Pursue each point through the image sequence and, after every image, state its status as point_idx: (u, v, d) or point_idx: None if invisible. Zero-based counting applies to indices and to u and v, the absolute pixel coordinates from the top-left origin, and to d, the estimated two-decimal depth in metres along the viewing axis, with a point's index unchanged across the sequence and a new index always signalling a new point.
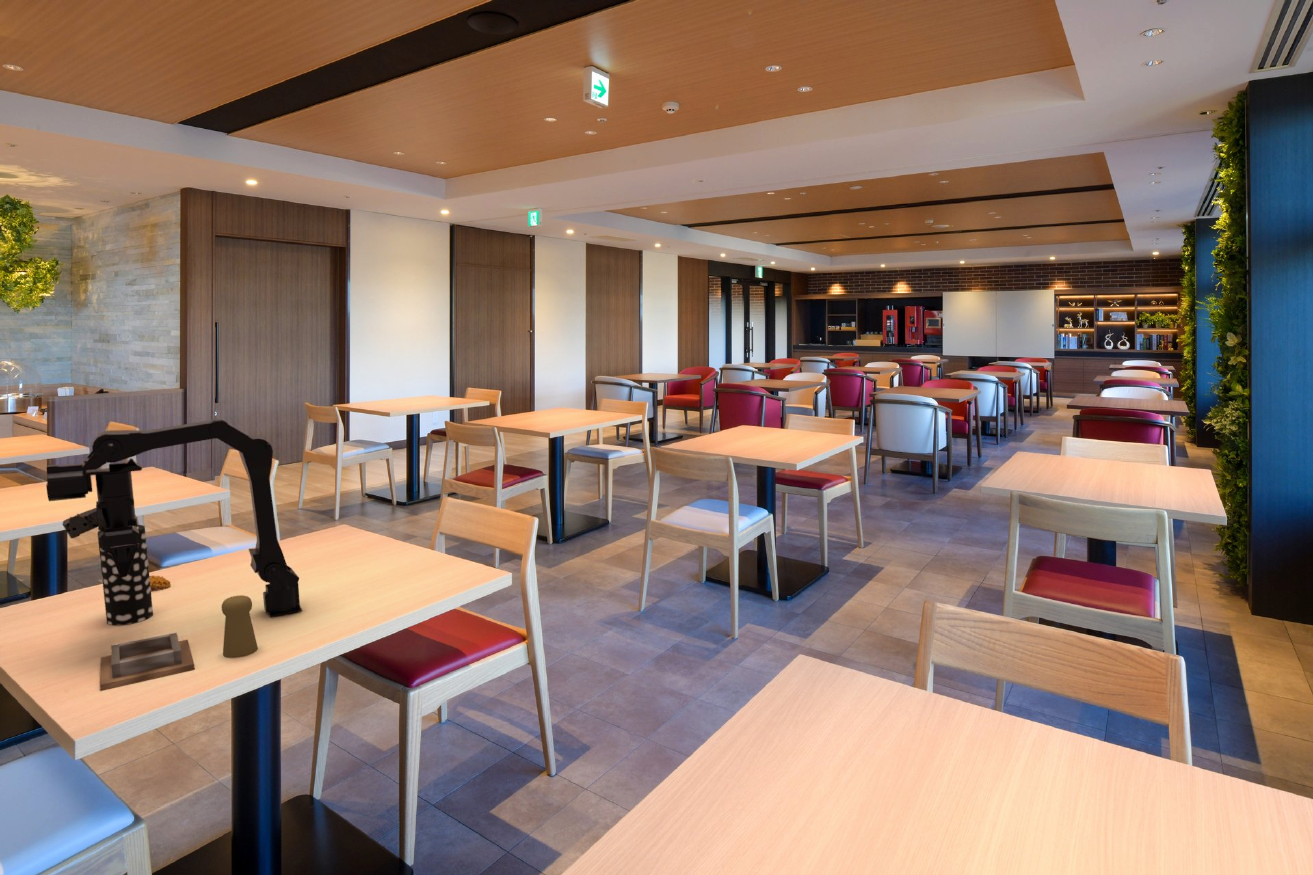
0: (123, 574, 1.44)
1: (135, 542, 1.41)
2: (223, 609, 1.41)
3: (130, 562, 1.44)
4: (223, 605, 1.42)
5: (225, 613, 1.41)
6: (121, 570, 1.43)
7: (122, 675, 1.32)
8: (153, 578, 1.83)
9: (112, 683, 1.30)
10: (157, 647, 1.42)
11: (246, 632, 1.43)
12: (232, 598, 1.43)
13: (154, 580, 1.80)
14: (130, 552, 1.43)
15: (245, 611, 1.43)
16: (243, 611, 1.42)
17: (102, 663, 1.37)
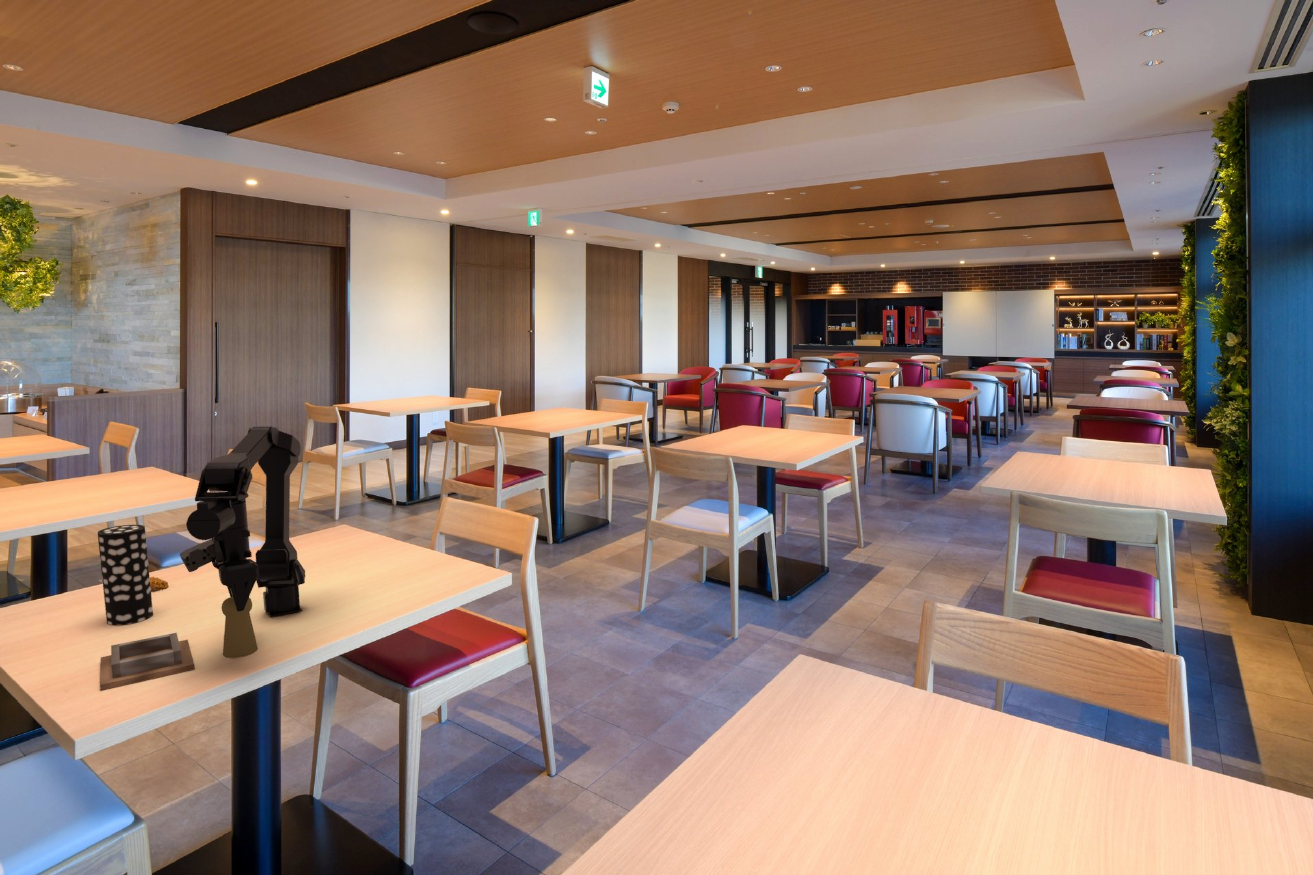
0: (240, 608, 1.40)
1: (255, 576, 1.37)
2: (223, 609, 1.41)
3: (248, 596, 1.40)
4: (223, 605, 1.42)
5: (225, 613, 1.41)
6: (239, 604, 1.39)
7: (122, 675, 1.32)
8: None
9: (112, 683, 1.30)
10: (157, 647, 1.42)
11: (246, 632, 1.43)
12: (232, 598, 1.43)
13: (152, 581, 1.80)
14: (248, 586, 1.39)
15: (245, 611, 1.43)
16: (243, 611, 1.42)
17: (102, 663, 1.37)
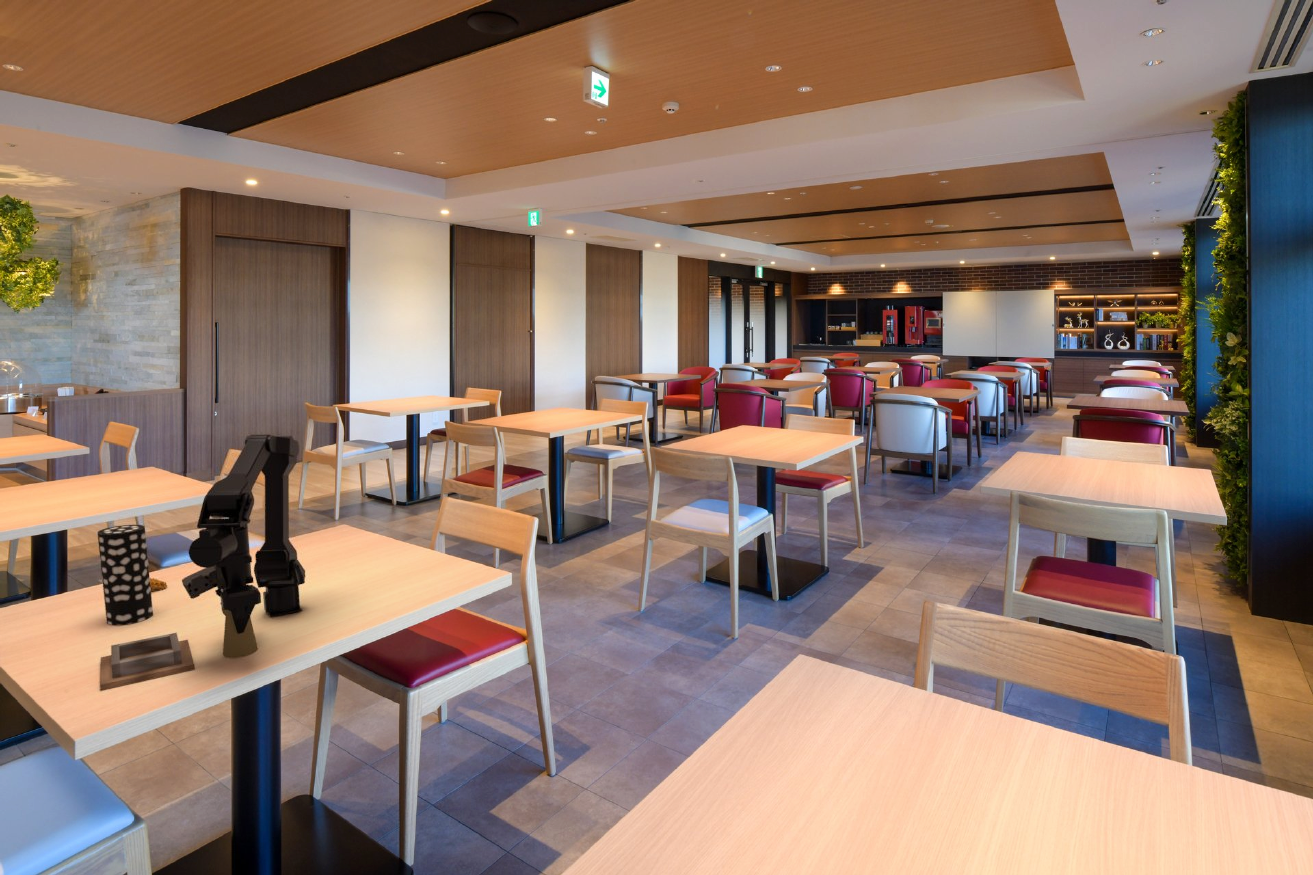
0: (240, 630, 1.42)
1: (257, 602, 1.37)
2: None
3: (247, 618, 1.42)
4: None
5: (225, 613, 1.41)
6: (239, 627, 1.42)
7: (122, 675, 1.32)
8: None
9: (112, 683, 1.30)
10: (157, 647, 1.42)
11: (246, 632, 1.43)
12: None
13: (150, 581, 1.79)
14: (248, 608, 1.41)
15: None
16: None
17: (102, 663, 1.37)
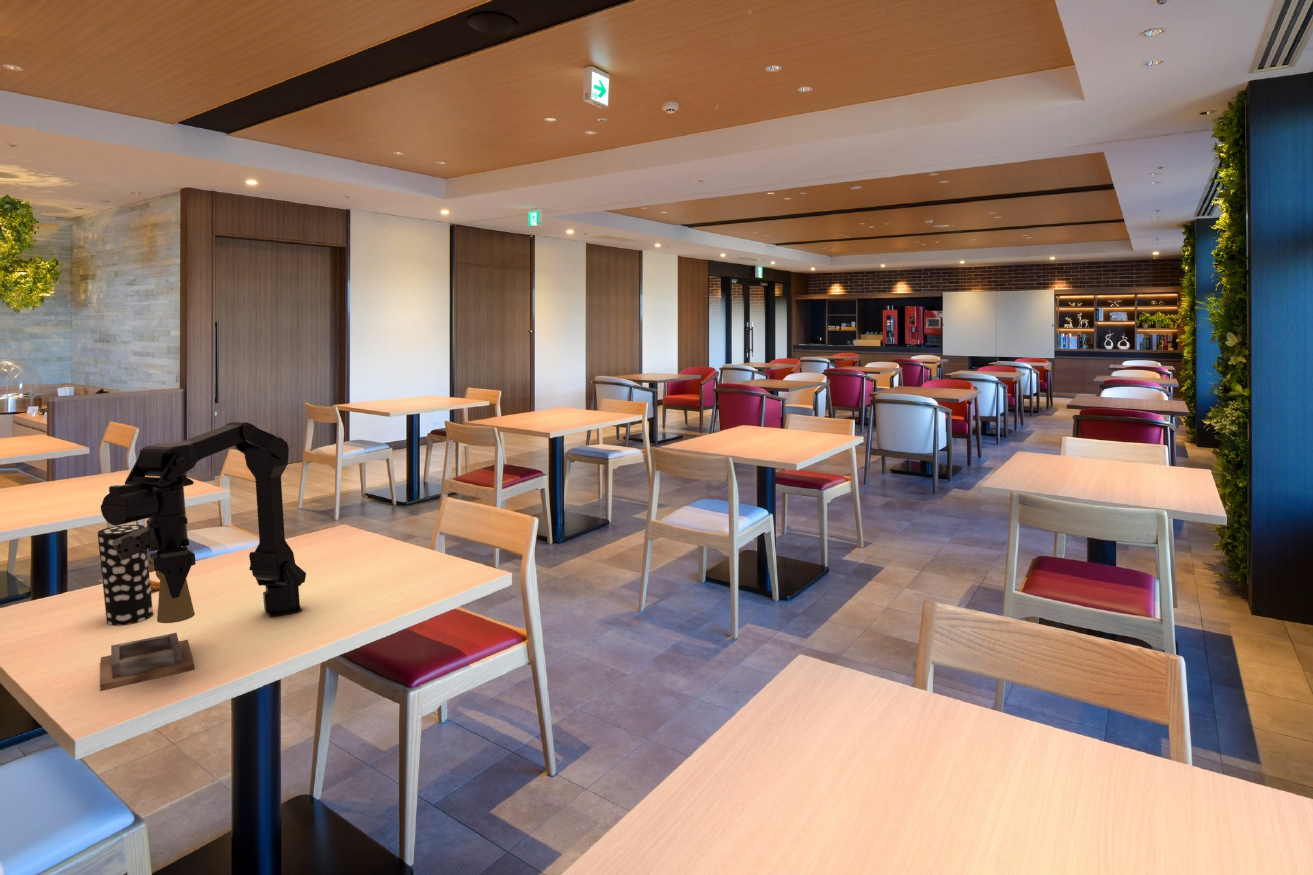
0: (175, 595, 1.37)
1: (191, 564, 1.32)
2: (157, 572, 1.36)
3: (183, 582, 1.36)
4: None
5: (159, 576, 1.36)
6: (173, 591, 1.36)
7: (122, 675, 1.32)
8: None
9: (112, 683, 1.30)
10: (157, 647, 1.42)
11: (182, 596, 1.38)
12: None
13: None
14: (183, 571, 1.36)
15: None
16: None
17: (102, 663, 1.37)
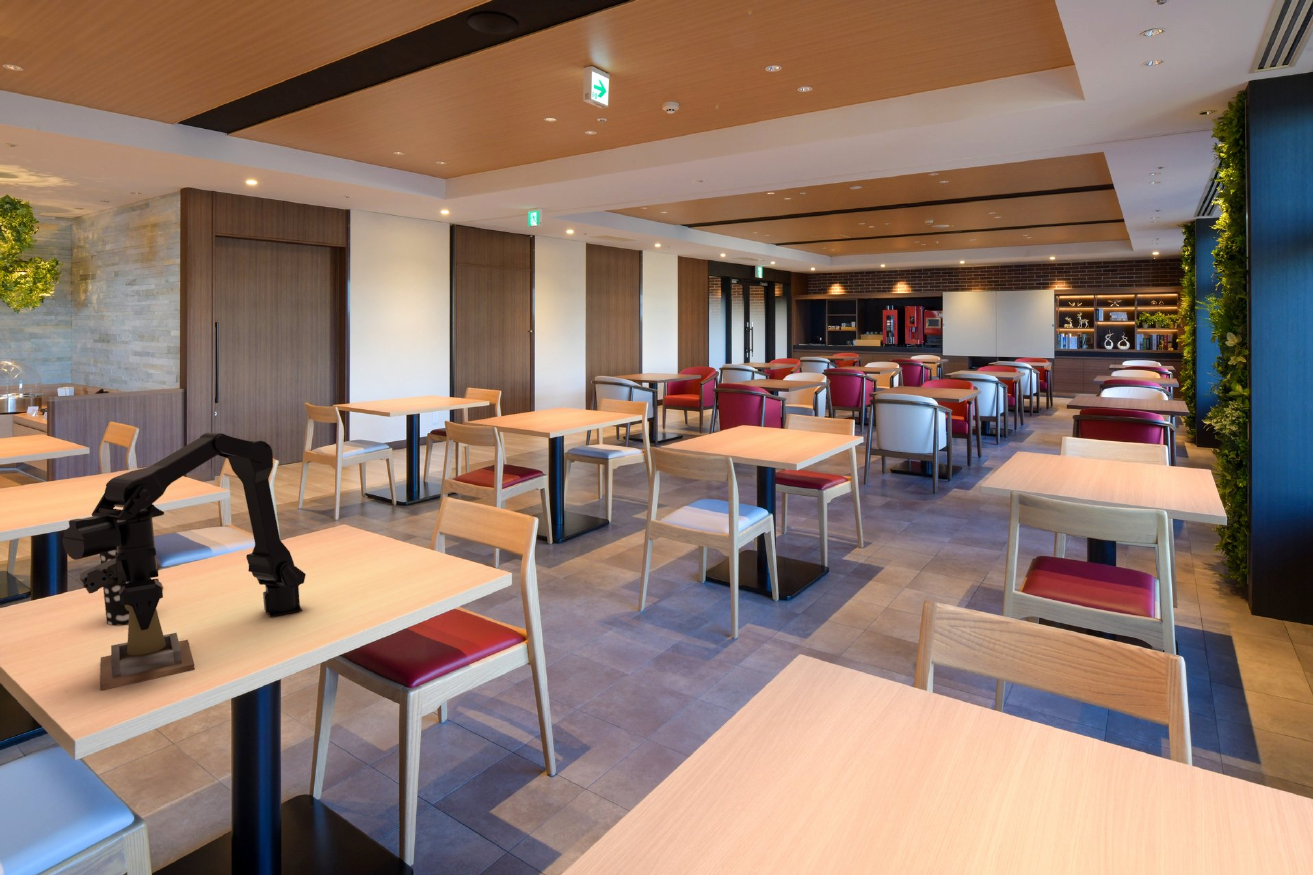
0: (144, 627, 1.35)
1: (158, 597, 1.30)
2: None
3: (152, 614, 1.35)
4: None
5: (128, 608, 1.35)
6: (142, 623, 1.35)
7: (122, 675, 1.32)
8: None
9: (112, 683, 1.30)
10: None
11: (151, 628, 1.36)
12: None
13: None
14: (152, 603, 1.34)
15: None
16: None
17: (102, 663, 1.37)
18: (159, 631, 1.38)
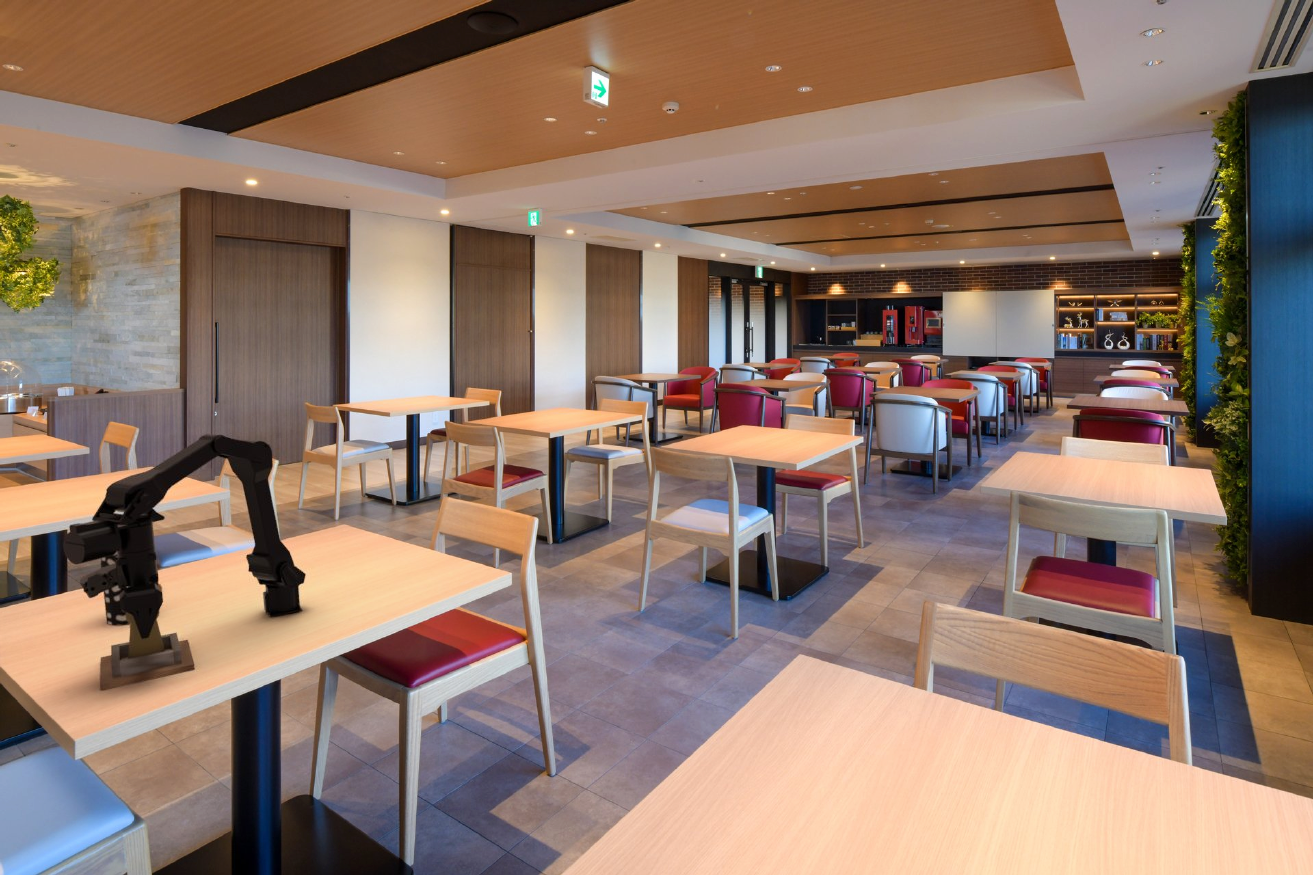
0: (145, 635, 1.34)
1: (158, 602, 1.30)
2: (127, 616, 1.35)
3: (152, 622, 1.33)
4: None
5: (129, 621, 1.35)
6: (143, 631, 1.33)
7: (122, 675, 1.32)
8: None
9: (112, 683, 1.30)
10: None
11: (153, 640, 1.37)
12: None
13: None
14: (152, 612, 1.33)
15: None
16: None
17: (102, 663, 1.37)
18: (160, 643, 1.38)
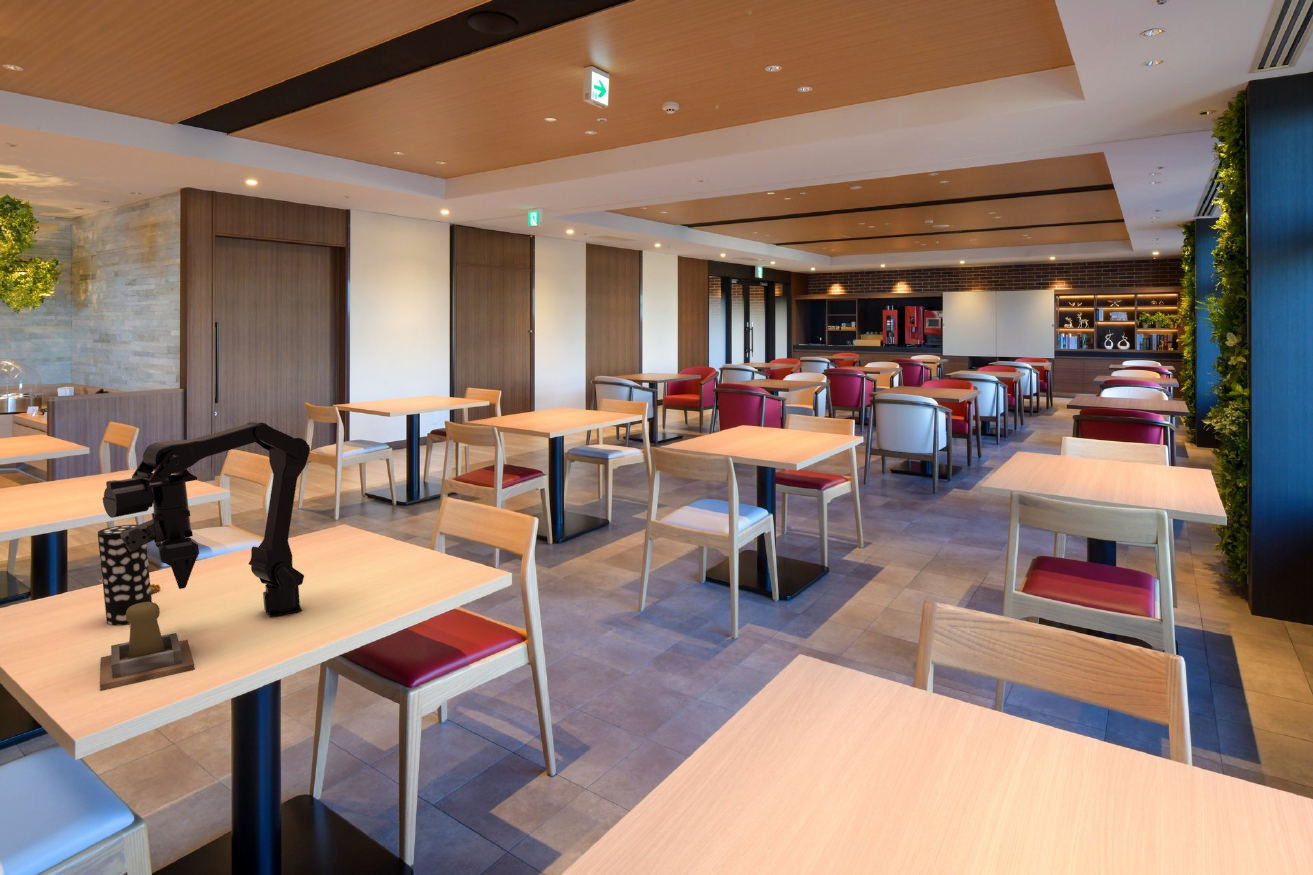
0: (182, 586, 1.44)
1: (195, 554, 1.41)
2: (127, 616, 1.35)
3: (189, 573, 1.44)
4: (127, 612, 1.35)
5: (129, 621, 1.35)
6: (180, 582, 1.43)
7: (122, 675, 1.32)
8: None
9: (112, 683, 1.30)
10: None
11: (153, 640, 1.37)
12: (137, 605, 1.36)
13: None
14: (189, 564, 1.43)
15: (151, 619, 1.36)
16: (149, 618, 1.36)
17: (102, 663, 1.37)
18: (160, 643, 1.38)
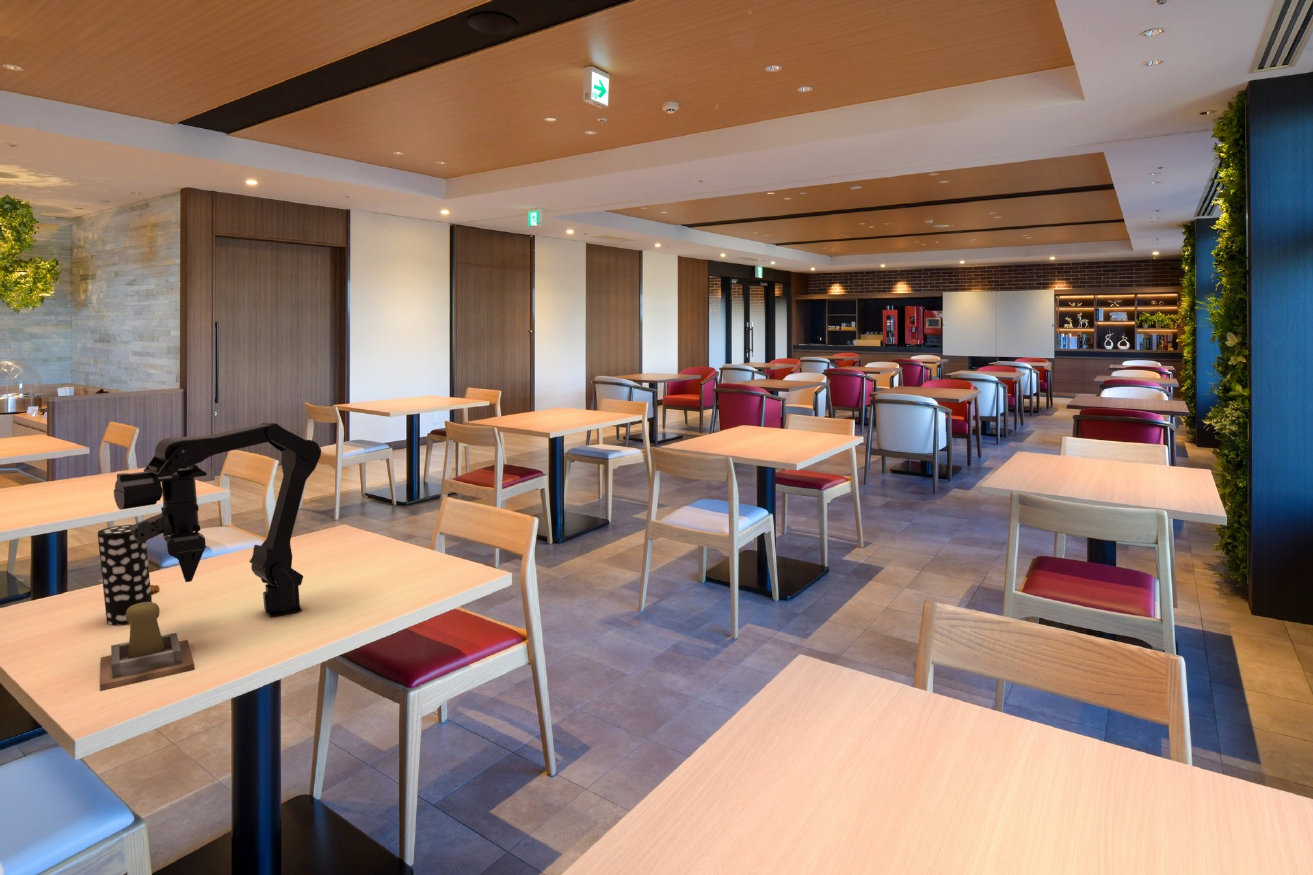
0: (188, 579, 1.46)
1: (201, 547, 1.43)
2: (127, 616, 1.35)
3: (195, 567, 1.46)
4: (127, 612, 1.35)
5: (129, 621, 1.35)
6: (187, 575, 1.46)
7: (122, 675, 1.32)
8: None
9: (112, 683, 1.30)
10: None
11: (153, 640, 1.37)
12: (137, 605, 1.36)
13: None
14: (196, 557, 1.45)
15: (151, 619, 1.36)
16: (149, 618, 1.36)
17: (102, 663, 1.37)
18: (160, 643, 1.38)
